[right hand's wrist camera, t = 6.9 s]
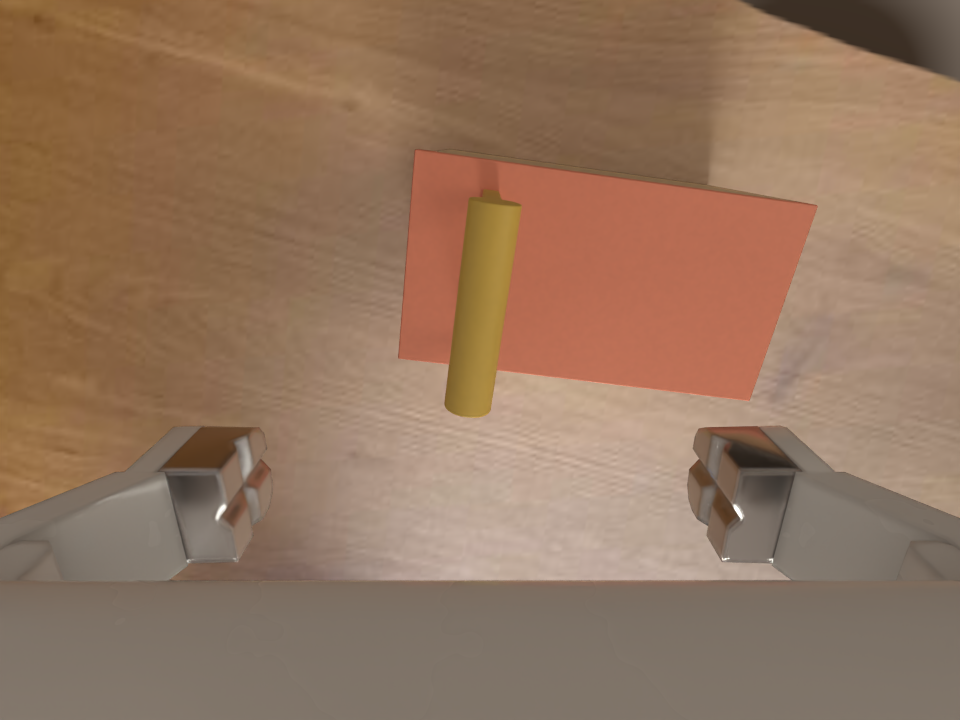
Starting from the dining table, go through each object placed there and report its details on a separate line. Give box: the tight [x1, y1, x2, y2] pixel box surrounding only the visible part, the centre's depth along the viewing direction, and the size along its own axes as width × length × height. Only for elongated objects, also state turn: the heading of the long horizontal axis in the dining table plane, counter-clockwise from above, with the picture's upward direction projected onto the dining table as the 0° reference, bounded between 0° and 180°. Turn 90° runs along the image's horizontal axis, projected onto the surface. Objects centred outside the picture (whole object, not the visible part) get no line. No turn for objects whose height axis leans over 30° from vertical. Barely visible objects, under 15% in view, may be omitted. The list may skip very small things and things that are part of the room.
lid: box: [398, 149, 818, 418], centre depth 22 cm, size 18×10×8 cm, turn 83°
